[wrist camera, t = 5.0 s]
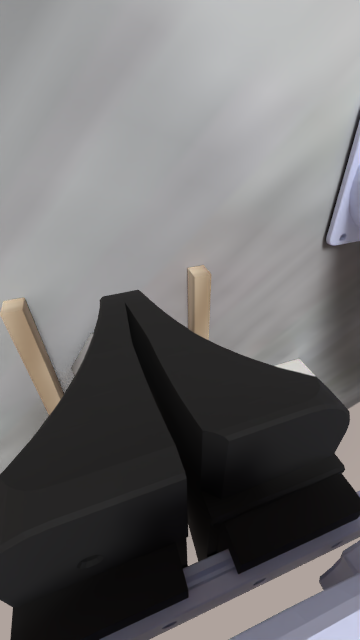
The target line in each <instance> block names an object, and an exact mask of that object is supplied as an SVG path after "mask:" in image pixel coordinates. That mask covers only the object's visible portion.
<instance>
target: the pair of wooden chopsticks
mask: <svg viewBox="0 0 360 640" xmlns="http://www.w3.org/2000/svg"><path fill="white" fill-rule="evenodd" d="M210 292H211V273H210V272H209V271H208V270H207V269H206V268H205V266H204V265H201V266H196V267H190V268H188V329H189V330H191V331H192V332H194V333H196V334H197V335H199V336H201V337H203V338H205V339H207V340H209V316H210ZM0 315H1V317H2V319H3V322H4V324H5V326H6V328H7V330H8V332H9V334H10V336H11V338H12V340H13V342H14V344H15V346H16V348H17V350H18V352H19V354H20V356H21V358H22V361H23V363H24V365H25V367H26V369H27V371H28V373H29V375H30V377H31V379H32V381H33V383H34V385H35V387H36V389H37V391H38V393H39V395H40V397H41V399H42V402H43V404H44V406H45V408H46V410H47V412H48V414H49V415H50V414H51V413H52V411H53V410H54V409H55V407H56V406H57V404H58V403H59V401H60V400H61V398H62V397H63V395H64V393H63V391H62V388H61V386H60V384H59V381H58V379H57V376H56V374H55V371H54V369H53V366H52V364H51V362H50V359H49V357H48V354H47V352H46V349H45V347H44V344H43V342H42V340H41V337H40V335H39V332H38V330H37V327H36V325H35V322H34V320H33V318H32V315H31V313H30V310H29V308H28V305H27V303H26V300H25V298H18V299H13V300H7V301H3V304H2V308H1V312H0Z"/></svg>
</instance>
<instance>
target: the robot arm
mask: <svg viewBox="0 0 360 640" xmlns="http://www.w3.org/2000/svg"><path fill="white" fill-rule="evenodd" d="M341 235H342V236H341ZM340 236H341V237H340ZM326 241H327V243H328V244H330V245H332V246H335V245H340V244H346V243H351V242H357V241H360V121H359V125H358V128H357V132H356V135H355V139H354V142H353V146H352V149H351V153H350V156H349V160H348V164H347V167H346V171H345V174H344V178H343V181H342V185H341V188H340V192H339V195H338V199H337V202H336V206H335V210H334V213H333V217H332V220H331V224H330V227H329V231H328V234H327V238H326ZM349 421H350V415H349V411H348V409H347V408H346V407H345V406H344V405H343V404H342V402H341V401H340V400H339V399H338V398H337V397H336V396H335V395H334V394H333V393H332V392H331V391H330V389H329V388H327V387H326V386H325V385H324V384H323V383H322V382H321V381H320V380H319V379H318V378H317V377H316V376H312V375H308V374H304V373H300V372H295V371H291V370H287V369H283V368H279V367H276V366H272V365H269V364H266V363H263V362H260V361H257V360H254V359H251V358H248V357H246V356H243V355H240V354H238V353H235V352H233V351H231V350H228V349H226V348H223V347H221V346H219V345H217V344H215V343H213V342H211V341H209V340H207V339H205V338H203V337H201V336H199V335H197V334H196V333H194V332H192V331H191V330H189V329H188V328H186V327H185V326H183V325H182V324H180V323H179V322H177V321H176V320H174V319H173V318H172V317H170V316H169V315H168V314H166V313H165V312H164V311H163V310H161V309H160V308H159V307H158V306H156V305H155V304H154V303H153V302H152V301H151V300H149V299H148V298H147V297H146V296H145V295H144V294H143V293H142V292H141V291H139V290H135V291H130V292H124V293H119V294H114V295H109V296H104V297H102V298H101V299H100V310H99V315H98V320H97V323H96V327H95V330H94V334H93V337H92V339H91V342H90V345H89V347H88V350H87V352H86V355H85V357H84V359H83V361H82V363H81V365H80V367H79V369H78V371H77V373H76V375H75V377H74V379H73V380H72V382H71V384H70V385H69V387H68V389H67V390H66V392H65V394H64V395H63V397H62V398H61V400H60V401H59V403H58V404H57V406H56V407H55V409H54V410H53V411H52V413H51V414H50V415H49V417H48V418H47V419H46V421H45V422H44V423H43V425H42V426H41V428H40V429H39V430H38V432H37V433H36V434H35V435H34V437H33V438H32V439H31V440H30V441H29V443H28V444H27V445H26V446H25V447H24V448H23V449H22V451H21V452H20V453H19V454H18V455H17V456H16V458H15V459H14V460H13V461H12V462H11V463H10V464H9V466H8V467H7V468H6V469H5V470H4V471H3V472H2V473H1V474H0V600H1V601H3V602H5V603H7V604H8V605H10V606H12V607H13V616H12V628H11V640H149V639H151V638H153V637H155V636H157V635H159V634H161V633H163V632H166V631H168V630H170V629H172V628H174V627H176V626H178V625H180V624H182V623H184V622H186V621H188V620H190V619H192V618H194V617H196V616H198V615H200V614H202V613H205V612H207V611H209V610H211V609H213V608H215V607H217V606H219V605H221V604H223V603H225V602H227V601H229V600H231V599H233V598H235V597H237V596H239V595H242V594H244V593H246V592H248V591H250V590H252V589H254V588H256V587H258V586H260V585H262V584H264V583H266V582H268V581H270V580H272V579H274V578H276V577H278V576H281V575H282V574H284V573H287V572H289V571H291V570H293V569H295V568H297V567H299V566H301V565H303V564H305V563H307V562H309V561H311V560H313V559H315V558H317V557H319V556H321V555H324V554H326V553H328V552H330V551H332V550H334V549H336V548H338V547H340V546H342V545H344V544H346V543H348V542H350V541H352V540H354V539H356V538H358V537H360V491H358V492H355V490H354V489H353V488H352V486H351V485H350V484H349V482H347V480H346V479H345V477H344V476H343V475H342V473H343V472H344V470H345V468H344V465H343V464H342V463H341V461H340V460H339V459H338V457H337V456H336V455H335V454H334V453H335V451H336V449H337V447H338V445H339V444H340V442H341V440H342V438H343V436H344V435H345V433H346V431H347V428H348V425H349ZM188 525H189V528H190V532H191V535H192V539H193V543H194V546H195V550H196V554H197V558H198V562H197V563H194V564H192V565H190V566H188V565H187V542H186V537H188ZM319 582H320V584H321V586H322V587H323V590H324V591H322V592H320V593H318V594H316V595H314V596H312V597H310V598H308V599H306V600H304V601H302V602H300V603H298V604H296V605H294V606H292V607H290V608H288V609H286V610H284V611H282V612H280V613H278V614H276V615H274V616H272V617H271V618H269V619H267V620H265V621H263V622H261V623H259V624H257V625H255V626H253V627H251V628H249V629H248V630H246V631H244V632H242V633H240V634H238V635H236V636H234V637H232V638H231V639H229V640H360V541H358V542H357V543H355V544H353V545H352V546H350V547H349V548H347V549H345V550H344V551H343V553H342V555H341V558H340V559H339V560H338V561H337V562H336V563H335V564H334V565H333V566H332V567H331V568H330V569H329V570H328V571H326V572H325V573H324V574H323V575H322V576H320V580H319Z"/></svg>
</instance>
